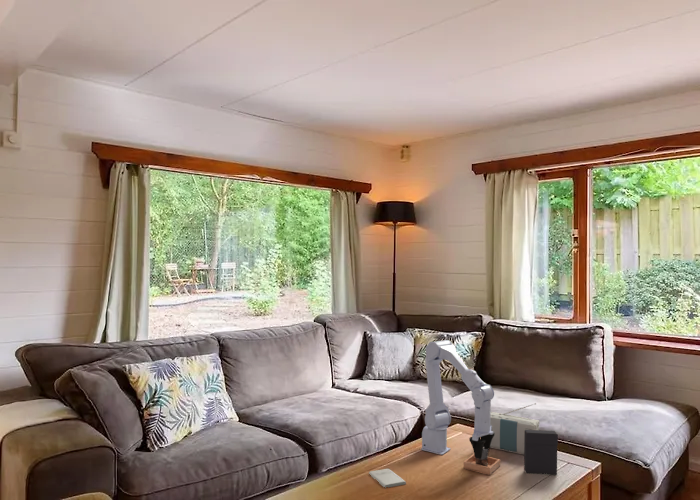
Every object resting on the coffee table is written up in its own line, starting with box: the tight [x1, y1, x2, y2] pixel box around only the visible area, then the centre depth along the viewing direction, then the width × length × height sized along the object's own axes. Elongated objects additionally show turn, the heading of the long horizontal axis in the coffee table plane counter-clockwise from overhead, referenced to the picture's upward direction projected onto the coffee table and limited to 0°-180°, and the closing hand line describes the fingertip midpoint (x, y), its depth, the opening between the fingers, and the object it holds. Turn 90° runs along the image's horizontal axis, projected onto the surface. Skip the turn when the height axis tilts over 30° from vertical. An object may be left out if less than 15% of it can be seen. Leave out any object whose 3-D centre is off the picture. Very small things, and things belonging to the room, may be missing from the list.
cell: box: [475, 446, 489, 467], centre depth 203 cm, size 4×4×7 cm
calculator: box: [523, 429, 559, 476], centre depth 199 cm, size 11×4×15 cm, turn 84°
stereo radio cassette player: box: [490, 402, 540, 456], centre depth 221 cm, size 21×8×20 cm, turn 55°
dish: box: [463, 453, 501, 476], centre depth 203 cm, size 10×10×2 cm
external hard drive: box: [368, 468, 407, 489], centre depth 192 cm, size 2×8×12 cm
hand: (481, 454), depth 203 cm, fingers open, 7 cm apart
